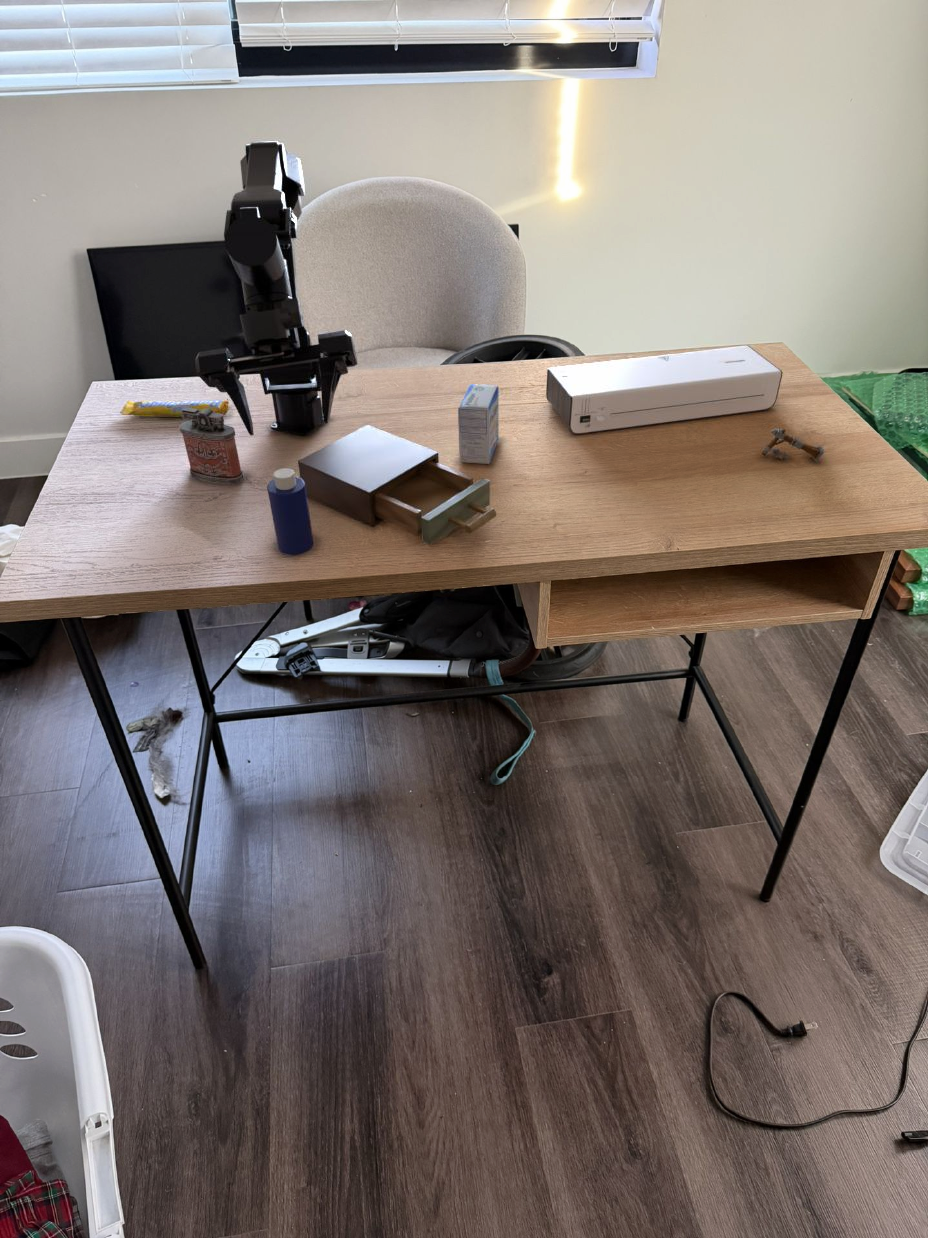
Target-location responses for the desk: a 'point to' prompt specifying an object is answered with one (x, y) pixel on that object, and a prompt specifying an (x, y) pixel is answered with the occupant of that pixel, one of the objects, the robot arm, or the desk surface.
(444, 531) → the drawer
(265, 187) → the robot arm
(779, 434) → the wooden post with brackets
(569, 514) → the desk surface
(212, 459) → the lighter
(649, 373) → the laminator
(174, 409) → the candy bar
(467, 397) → the medicine box
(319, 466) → the cabinet
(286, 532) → the glue bottle
